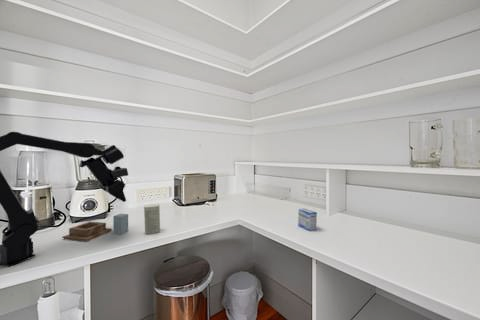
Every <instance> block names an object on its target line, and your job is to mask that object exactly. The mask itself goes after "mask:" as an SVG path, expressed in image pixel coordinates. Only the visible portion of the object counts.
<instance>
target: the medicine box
mask: <svg viewBox="0 0 480 320" xmlns="http://www.w3.org/2000/svg"><path fill="white" fill-rule="evenodd" d="M297 214H298V216H297V217H298V218H297V227H299V228H301V229H303V230H307V231H308V232H312V231H317V222H318V221H317V218H318V217H317V216H318V215H317V214H318V212H316V211H314V210H310V209H308V208H305V207H304V208H302V207H301V208H299V209H298V213H297Z"/></svg>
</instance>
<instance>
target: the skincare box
mask: <svg viewBox="0 0 480 320" xmlns="http://www.w3.org/2000/svg"><path fill="white" fill-rule="evenodd" d="M143 209H144V210H143V212H144V235H149V234H157V233H160V232H161V219H160V217H161V215H160V214H161V213H160V211H161V210H160V203H156V204H144V207H143Z"/></svg>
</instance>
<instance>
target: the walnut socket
mask: <svg viewBox="0 0 480 320" xmlns="http://www.w3.org/2000/svg"><path fill="white" fill-rule="evenodd" d="M111 231H113V230H112V228H107V223H106V222H102V221H101V222H100V221H99V222H98V221H88V222H84V223H81V224H78V225H76V226H72V227H69V228H68V234H66V235H63V236H62V238H64V239H63V240H65V239H69V240H68V241H74V240H76V242H82V241H83V242H84V243H87V242H89V241H91V240H94V239H96V238H98V237H100V236H103V235H106V234H108V233H109V232H111Z"/></svg>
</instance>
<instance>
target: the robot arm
mask: <svg viewBox="0 0 480 320" xmlns="http://www.w3.org/2000/svg"><path fill="white" fill-rule="evenodd" d="M16 145H20V146H26V147H32V148H40V149H46V150H50V151H51V150H52V151H57V152H62V153H66V154H69V155H72V156H76V157H78V158H81V159H80V162H79V165H78V167H79V168H85V167H87V169H88V170H89V171H90V173H91V174H92V175H93V178H94V179H96V180H97V182H98V183H97V185H98V187H99V188H100V189H101V190H103V191H104V192H107V193H108V195H110V196H112V197H114V198H116V199H117V200H119V201H121V202H123V203H125V202H127V198H126V196H125V192H124V188H125V187H126V184H125V182H124V181H123V180H120V179H119V178H121V177H127V176H129V172H128V171H129V170H128V168H126V167H121V166H115V167H114V169H111V168H109V167H108V166H107V165H108V164H109V165H113V164H114V163H117V162H119V161H120V160H123V159H124V157H125V156H124V154H123V152H122V151H121V150H120V149H119V148H118V147H116V145H114V144H113V145H110V146H109V147H107V148H104V149H103V150H102V149H99V148H95V146H94V145H93V144H92V143H89V142H78V141H77V142H76V141H75V142H74V141H63V140H58V139H51V138H49V137H48V138H47V137H42V136H36V135H31V134H26V133H21V132H19V131H9V132H7V134H3V135H1V136H0V152H1V151H3V150H7V149H8V148H11V147H13V146H16ZM94 156H97V157H95V158H94ZM82 158H86V160H82ZM106 164H107V165H106ZM0 206H1V207H2V209H3V210H4V212H5V213H6V216H7V219H8V223H9V227H10V228H9V229H8V230H7V231H5V232H4V233H3V234H2V238H1V244H0V264H4V265H3V266H6V265H8V266H7V267H11V266H10V265H12V266H14V264H15V265H17V264H19V263H18V262H20V263H22V262H24V261H23V260H25V259H27V260H29V259H28V258H30V259H32V258H34V257H36V254H34V241H32V237H31V236H33V235H34V234H36V232H37V231H38V228H39V223H40V220H39V217H37V216H36V215H35V212H34V210H33V208H31V209H29V210H27V209H26V208H25V207H24V206H23V205H22V203H21V202H20V200H19V199H18V197H17V196H16V193H15V192H14V190H13V189H12V187H11V185H10V184H9V182H8V181H7V179H6V177H5V175H4V173H3V172H2V170H1V169H0ZM33 256H34V257H33ZM31 257H32V258H31ZM21 261H22V262H21ZM25 261H26V260H25ZM16 263H17V264H16Z"/></svg>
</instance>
